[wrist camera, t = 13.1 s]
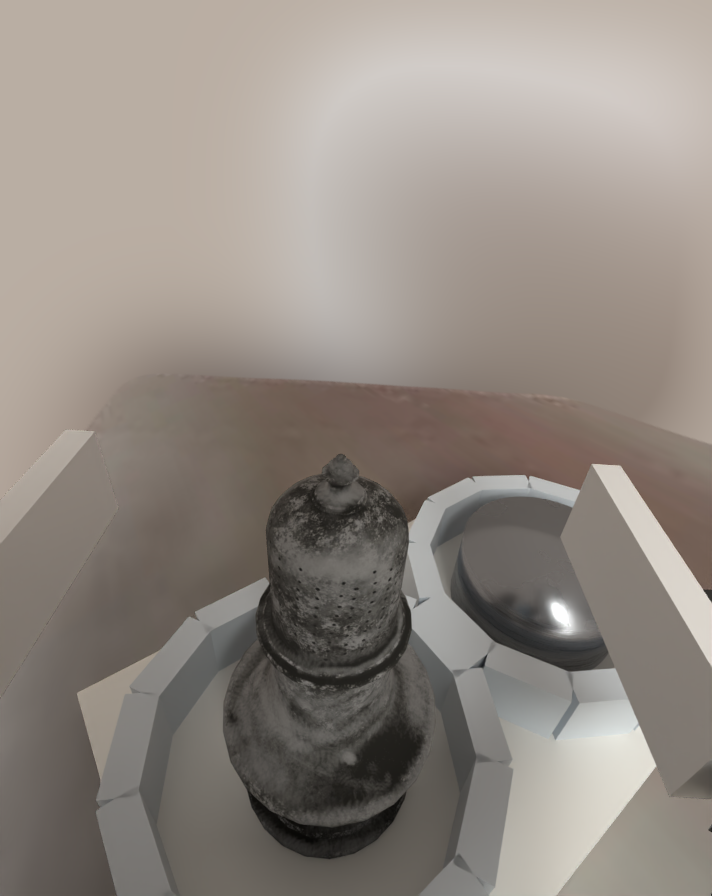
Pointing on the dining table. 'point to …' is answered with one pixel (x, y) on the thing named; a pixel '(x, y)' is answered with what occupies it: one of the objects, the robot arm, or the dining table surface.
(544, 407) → the dining table surface
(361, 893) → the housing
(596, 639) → the grey metallic domed disc
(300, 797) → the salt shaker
